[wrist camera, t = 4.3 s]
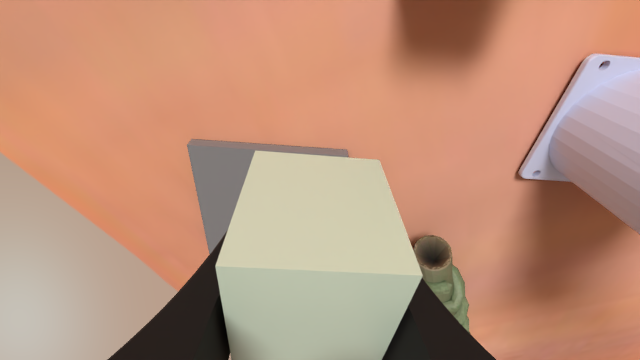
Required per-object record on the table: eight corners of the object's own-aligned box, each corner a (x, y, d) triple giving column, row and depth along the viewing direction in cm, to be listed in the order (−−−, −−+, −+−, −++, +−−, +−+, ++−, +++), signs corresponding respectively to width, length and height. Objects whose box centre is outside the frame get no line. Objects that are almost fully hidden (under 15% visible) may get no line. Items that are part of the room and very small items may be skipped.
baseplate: (347, 149, 19) (348, 155, 18) (330, 251, 24) (331, 259, 24) (191, 138, 18) (186, 144, 17) (212, 246, 24) (209, 253, 23)
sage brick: (379, 159, 10) (422, 275, 6) (352, 265, 14) (369, 385, 10) (255, 150, 10) (215, 266, 6) (259, 261, 13) (235, 383, 9)
